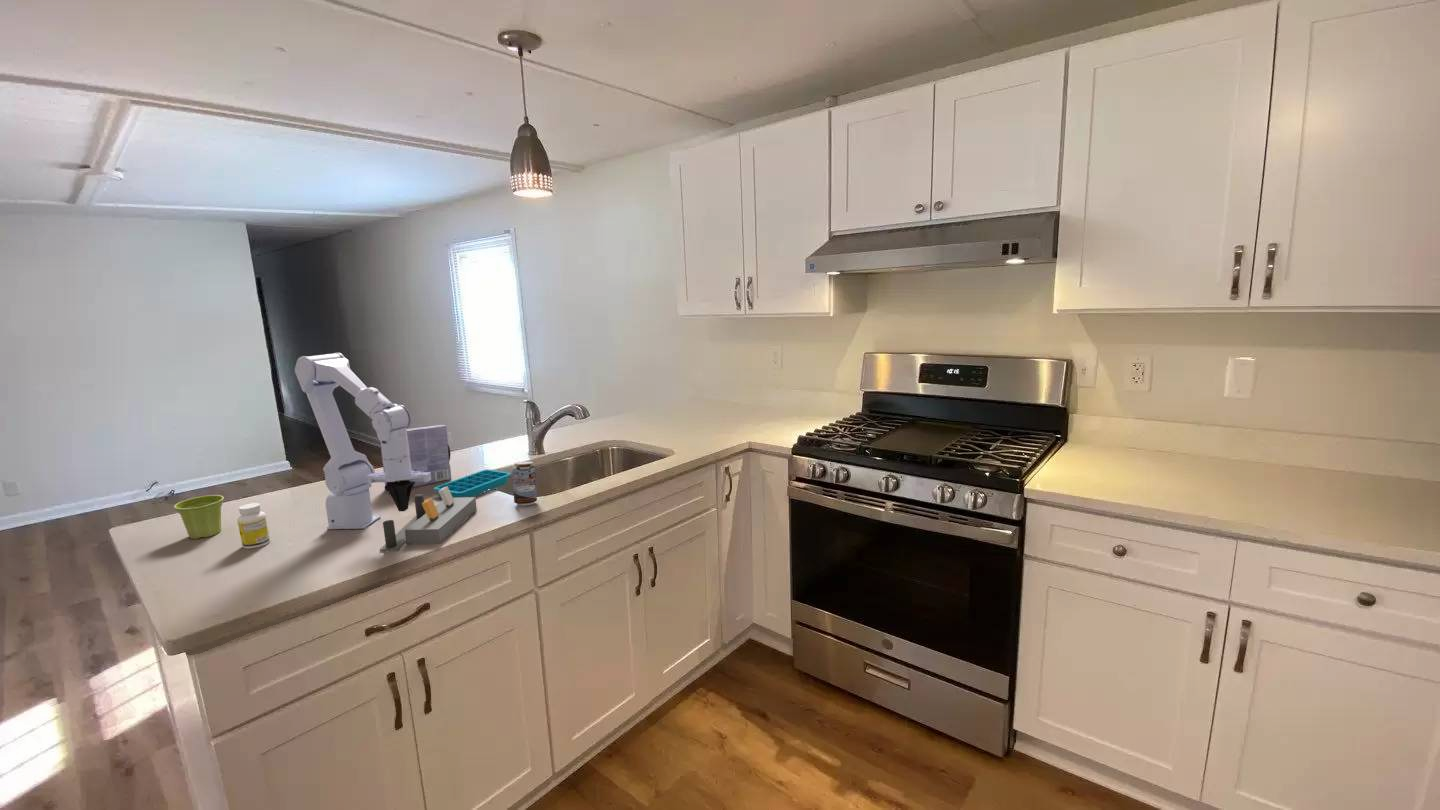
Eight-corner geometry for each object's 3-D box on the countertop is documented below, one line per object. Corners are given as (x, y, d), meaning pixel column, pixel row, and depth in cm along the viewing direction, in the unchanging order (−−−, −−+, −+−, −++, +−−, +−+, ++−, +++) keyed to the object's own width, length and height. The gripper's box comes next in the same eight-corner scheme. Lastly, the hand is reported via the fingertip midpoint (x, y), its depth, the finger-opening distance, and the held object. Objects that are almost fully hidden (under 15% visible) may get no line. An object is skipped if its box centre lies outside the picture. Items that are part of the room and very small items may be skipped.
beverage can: (513, 509, 163) (510, 467, 160) (515, 500, 170) (511, 459, 167) (538, 507, 164) (534, 465, 162) (538, 498, 171) (535, 457, 169)
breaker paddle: (429, 521, 146) (421, 503, 145) (435, 516, 149) (427, 499, 148) (434, 520, 146) (425, 502, 145) (440, 515, 149) (431, 497, 148)
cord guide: (380, 552, 138) (376, 524, 136) (416, 518, 158) (413, 494, 157) (398, 551, 138) (394, 523, 137) (431, 517, 159) (428, 493, 157)
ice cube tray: (432, 498, 174) (431, 488, 174) (486, 478, 192) (486, 469, 191) (461, 503, 169) (459, 493, 169) (514, 482, 187) (513, 473, 186)
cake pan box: (451, 475, 194) (445, 422, 191) (455, 479, 190) (449, 424, 187) (384, 488, 182) (377, 432, 179) (388, 492, 178) (380, 435, 175)
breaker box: (406, 543, 142) (404, 529, 141) (447, 509, 163) (445, 497, 163) (440, 543, 142) (438, 529, 141) (476, 509, 163) (475, 497, 163)
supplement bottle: (247, 542, 145) (240, 503, 143) (274, 538, 147) (267, 500, 145) (238, 551, 140) (231, 511, 138) (266, 547, 142) (259, 507, 140)
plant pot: (239, 528, 153) (233, 496, 151) (198, 543, 144) (192, 509, 143) (212, 525, 156) (205, 493, 154) (171, 540, 147) (163, 506, 145)
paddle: (445, 508, 155) (438, 491, 154) (451, 504, 158) (443, 487, 157) (450, 507, 155) (442, 489, 154) (455, 502, 158) (447, 485, 157)
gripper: (356, 461, 140) (364, 516, 143) (418, 460, 140) (425, 515, 143) (373, 453, 147) (380, 506, 150) (432, 452, 147) (438, 504, 150)
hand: (403, 510), depth 147 cm, fingers closed
